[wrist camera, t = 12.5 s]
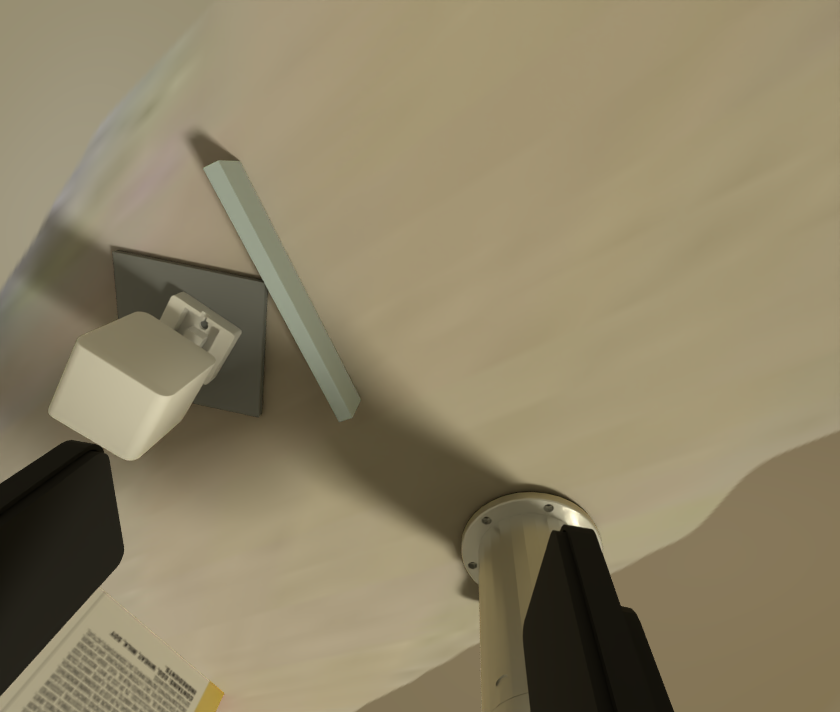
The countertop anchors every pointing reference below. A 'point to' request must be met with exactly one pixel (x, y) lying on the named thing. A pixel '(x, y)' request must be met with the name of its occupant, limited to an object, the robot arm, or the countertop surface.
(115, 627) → the pasta box
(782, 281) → the countertop surface
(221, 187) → the low wall
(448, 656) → the countertop surface
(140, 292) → the mat
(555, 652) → the robot arm
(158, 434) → the security camera
